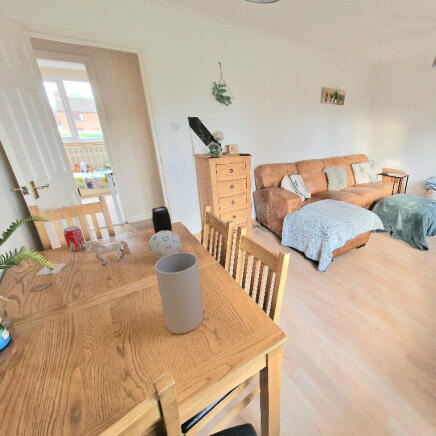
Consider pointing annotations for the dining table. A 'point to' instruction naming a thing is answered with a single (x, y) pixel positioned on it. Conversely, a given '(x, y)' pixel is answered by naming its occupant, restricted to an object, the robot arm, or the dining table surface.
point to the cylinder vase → (180, 291)
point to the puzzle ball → (164, 244)
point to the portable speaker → (161, 219)
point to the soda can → (74, 238)
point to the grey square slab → (51, 269)
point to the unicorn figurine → (106, 249)
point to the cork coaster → (41, 286)
